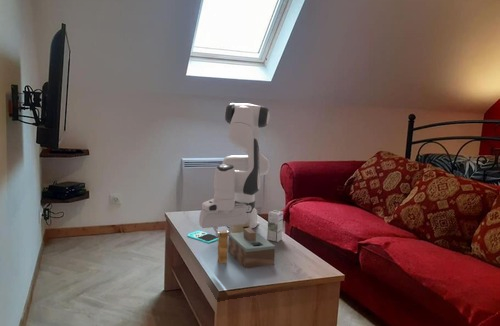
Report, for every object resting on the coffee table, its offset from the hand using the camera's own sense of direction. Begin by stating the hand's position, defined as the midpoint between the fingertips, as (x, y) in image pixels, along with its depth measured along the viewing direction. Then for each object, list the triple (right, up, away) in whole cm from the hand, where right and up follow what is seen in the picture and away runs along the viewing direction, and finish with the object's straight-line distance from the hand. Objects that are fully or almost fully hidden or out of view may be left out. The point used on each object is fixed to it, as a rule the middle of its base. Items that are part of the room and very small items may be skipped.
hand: (223, 235), depth 171 cm
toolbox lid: (+12, -4, +6) cm, 14 cm away
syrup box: (+24, -8, +34) cm, 42 cm away
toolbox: (+11, -12, +7) cm, 18 cm away
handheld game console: (-12, -7, +34) cm, 36 cm away
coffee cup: (+6, -8, +29) cm, 30 cm away
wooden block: (0, -11, +2) cm, 11 cm away
